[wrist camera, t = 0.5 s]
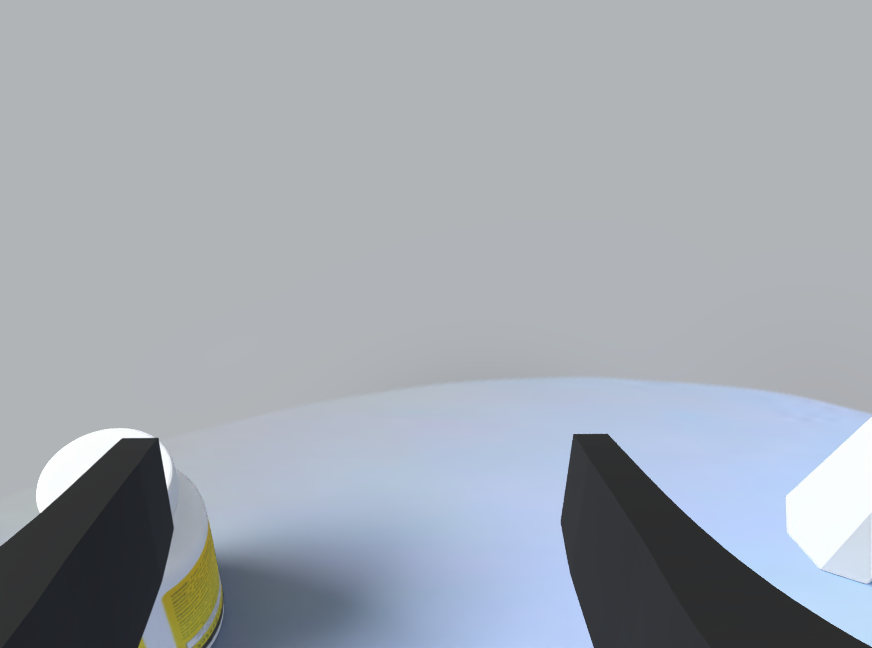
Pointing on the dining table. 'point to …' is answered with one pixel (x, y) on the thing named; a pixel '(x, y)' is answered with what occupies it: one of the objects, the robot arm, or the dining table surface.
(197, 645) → the supplement bottle
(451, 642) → the dining table surface
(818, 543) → the salt shaker
